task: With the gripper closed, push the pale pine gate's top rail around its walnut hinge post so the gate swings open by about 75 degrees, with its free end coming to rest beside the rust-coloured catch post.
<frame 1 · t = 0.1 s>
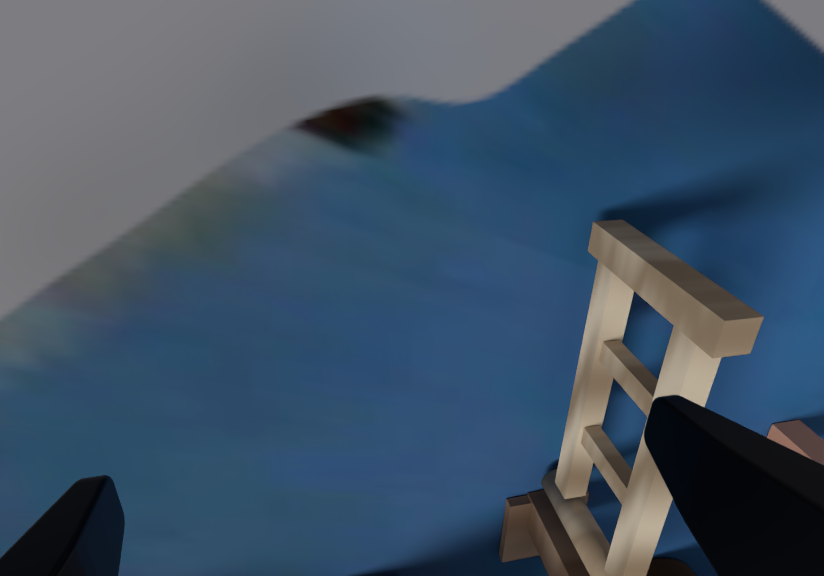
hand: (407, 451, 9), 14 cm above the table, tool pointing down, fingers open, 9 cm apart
hinge post: (543, 503, 34), on the table
catch post: (780, 433, 36), on the table
gate: (619, 430, 25), point 5 cm above the table, hinge at 0.0°
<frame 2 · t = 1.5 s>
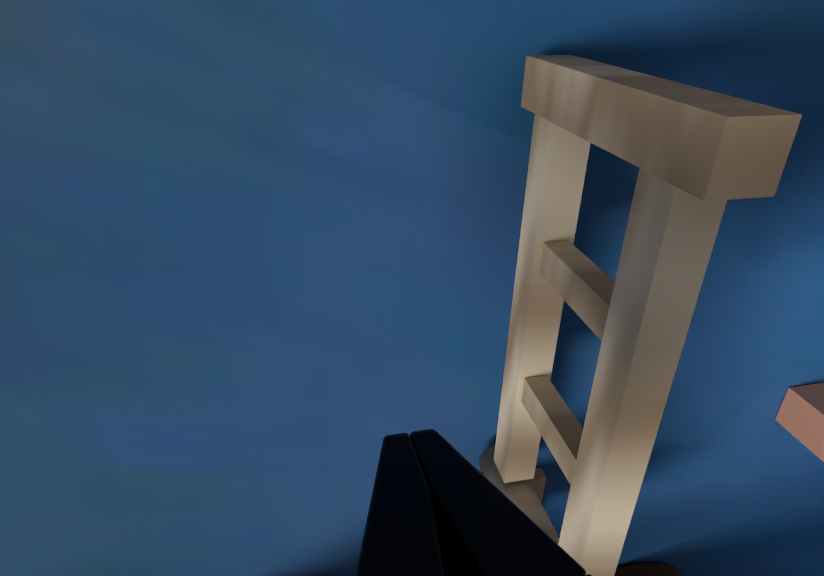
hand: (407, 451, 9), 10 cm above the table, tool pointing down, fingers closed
hinge post: (487, 491, 26), on the table
catch post: (799, 401, 27), on the table
gate: (568, 375, 17), point 5 cm above the table, hinge at 0.0°
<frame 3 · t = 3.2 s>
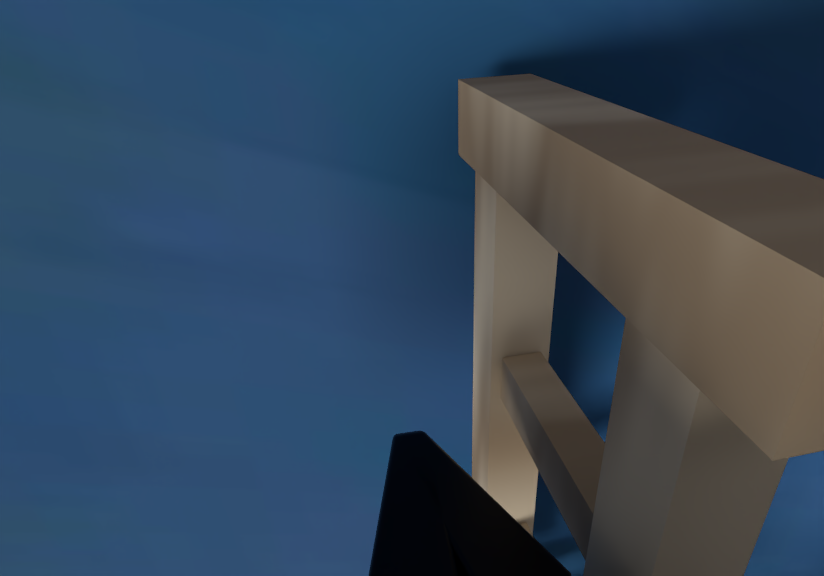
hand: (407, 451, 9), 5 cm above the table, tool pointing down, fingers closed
gate: (548, 555, 11), point 5 cm above the table, hinge at 2.1°, touching gripper
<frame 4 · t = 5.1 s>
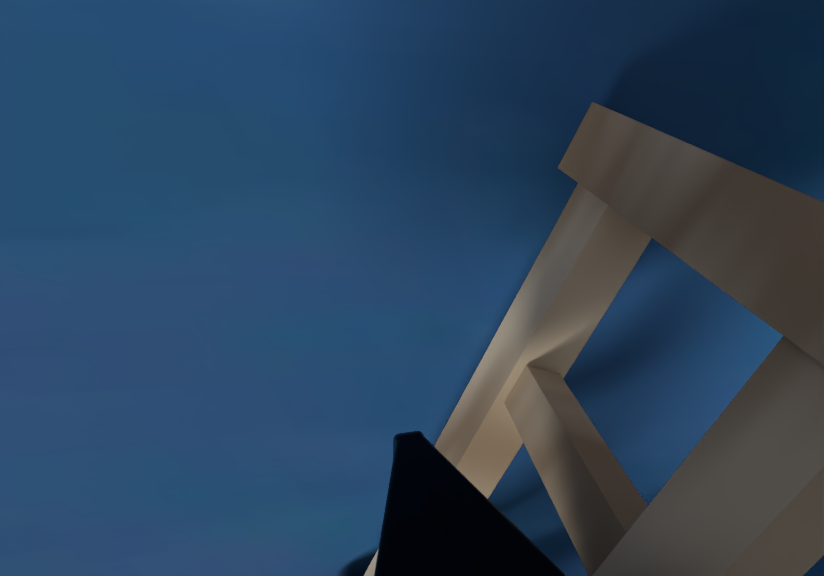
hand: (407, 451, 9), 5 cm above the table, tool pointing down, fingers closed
gate: (498, 567, 11), point 5 cm above the table, hinge at 42.3°, touching gripper
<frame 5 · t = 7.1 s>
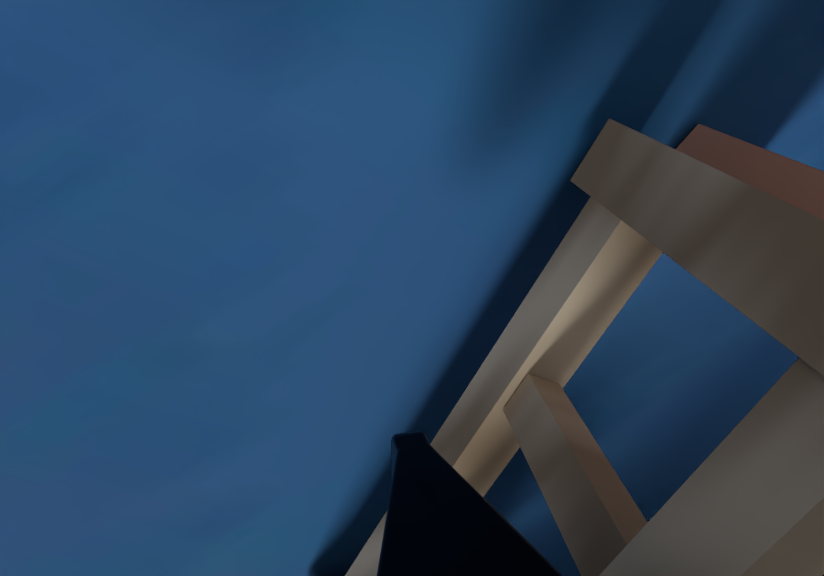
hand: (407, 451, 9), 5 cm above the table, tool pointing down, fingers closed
catch post: (691, 183, 13), on the table
gate: (487, 573, 11), point 5 cm above the table, hinge at 80.4°, touching gripper
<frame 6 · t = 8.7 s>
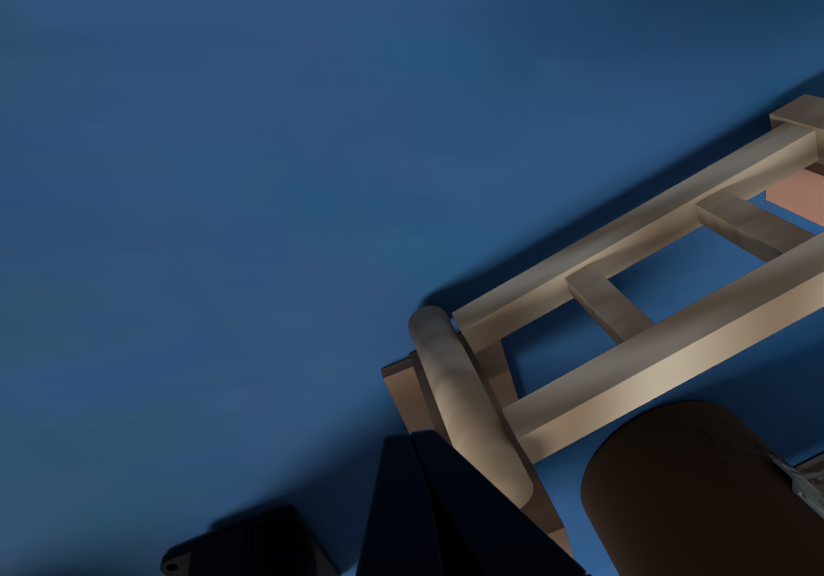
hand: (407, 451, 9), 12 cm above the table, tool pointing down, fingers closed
hinge post: (443, 364, 24), on the table
catch post: (789, 168, 23), on the table
gate: (667, 276, 18), point 5 cm above the table, hinge at 80.4°
coffee box: (786, 495, 35), on the table
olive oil: (658, 463, 31), on the table
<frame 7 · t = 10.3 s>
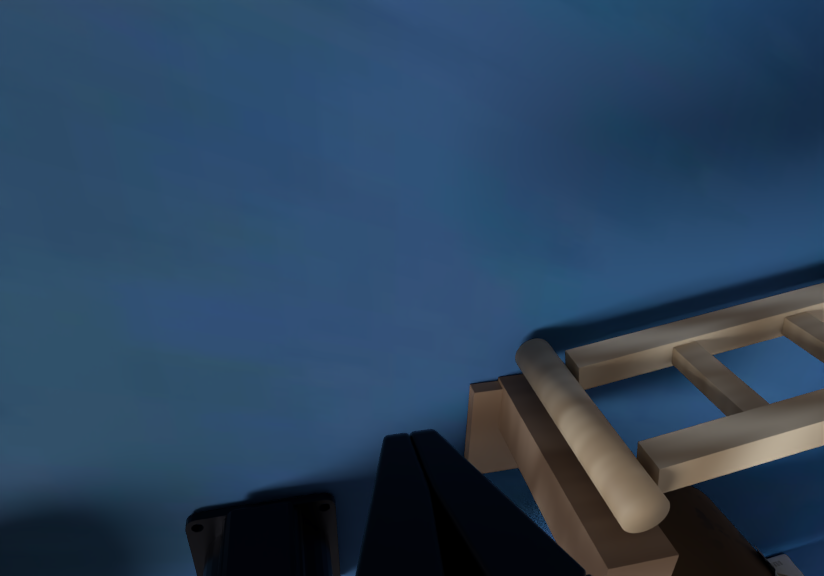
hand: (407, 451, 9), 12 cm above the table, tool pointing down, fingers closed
hinge post: (520, 395, 26), on the table
gate: (765, 368, 21), point 5 cm above the table, hinge at 80.4°
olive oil: (638, 536, 34), on the table
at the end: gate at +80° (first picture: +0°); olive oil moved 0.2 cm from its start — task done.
